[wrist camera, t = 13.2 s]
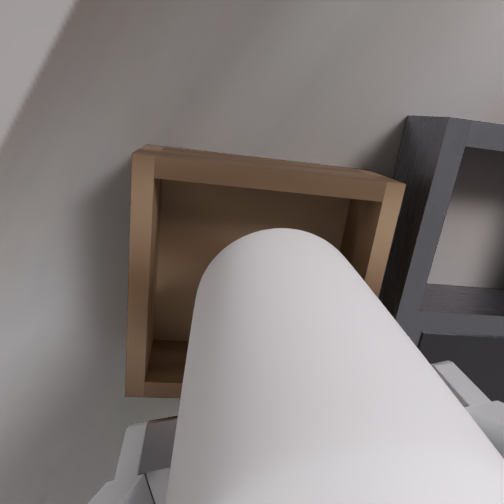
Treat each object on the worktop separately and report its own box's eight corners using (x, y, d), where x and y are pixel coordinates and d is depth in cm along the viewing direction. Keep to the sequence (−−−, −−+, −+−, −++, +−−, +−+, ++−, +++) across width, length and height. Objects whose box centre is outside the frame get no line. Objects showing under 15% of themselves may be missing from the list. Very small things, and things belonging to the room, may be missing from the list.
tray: (407, 115, 19) (450, 117, 16) (581, 139, 20) (655, 146, 17) (338, 410, 25) (359, 458, 21) (479, 413, 26) (520, 459, 23)
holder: (146, 144, 18) (131, 153, 15) (369, 170, 20) (406, 184, 16) (138, 347, 22) (125, 396, 18) (329, 356, 23) (352, 402, 20)
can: (198, 371, 17) (150, 872, 6) (192, 224, 15) (98, 582, 4) (348, 366, 18) (564, 826, 6) (363, 223, 15) (737, 543, 4)
